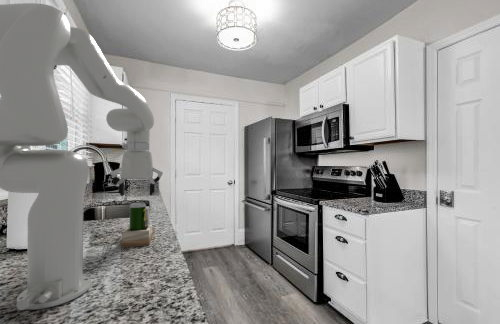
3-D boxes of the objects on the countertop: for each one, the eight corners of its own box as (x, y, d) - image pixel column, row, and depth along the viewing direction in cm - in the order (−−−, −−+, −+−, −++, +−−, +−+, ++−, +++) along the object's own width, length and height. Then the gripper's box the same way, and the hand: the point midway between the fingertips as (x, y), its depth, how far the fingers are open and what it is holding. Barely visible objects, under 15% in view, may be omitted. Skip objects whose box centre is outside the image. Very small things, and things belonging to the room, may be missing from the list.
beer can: (130, 239, 84) (130, 205, 84) (128, 235, 88) (128, 203, 88) (146, 237, 87) (147, 203, 87) (144, 233, 91) (144, 201, 91)
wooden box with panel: (149, 245, 84) (149, 213, 84) (120, 247, 82) (121, 215, 82) (154, 232, 99) (154, 206, 99) (130, 234, 97) (130, 207, 97)
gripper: (108, 146, 82) (107, 196, 81) (162, 148, 86) (161, 195, 86) (114, 148, 89) (113, 194, 88) (164, 149, 94) (163, 193, 93)
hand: (137, 195), depth 87 cm, fingers open, 9 cm apart
